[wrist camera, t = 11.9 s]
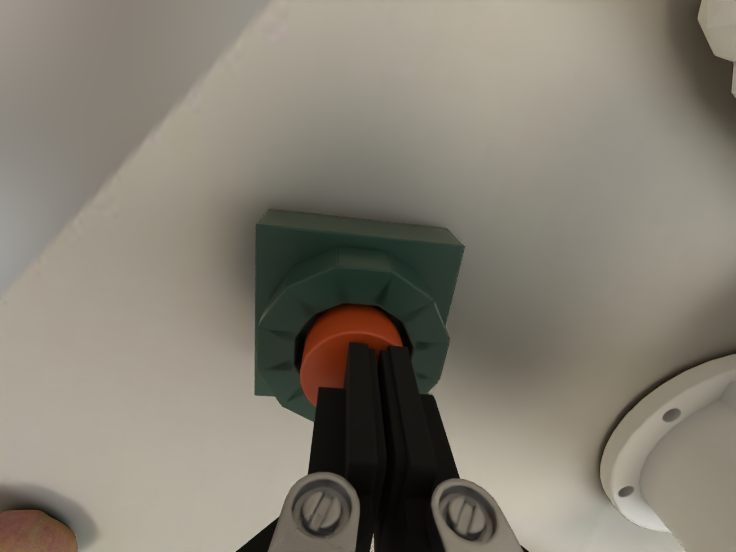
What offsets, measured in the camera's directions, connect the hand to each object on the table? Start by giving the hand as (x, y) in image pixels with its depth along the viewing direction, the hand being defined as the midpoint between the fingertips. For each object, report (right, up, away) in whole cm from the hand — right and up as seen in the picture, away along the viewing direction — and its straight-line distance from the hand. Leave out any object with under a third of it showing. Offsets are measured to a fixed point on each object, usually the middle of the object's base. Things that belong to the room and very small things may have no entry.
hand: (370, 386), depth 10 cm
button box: (-1, +2, +5) cm, 5 cm away
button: (-1, +1, +2) cm, 2 cm away
